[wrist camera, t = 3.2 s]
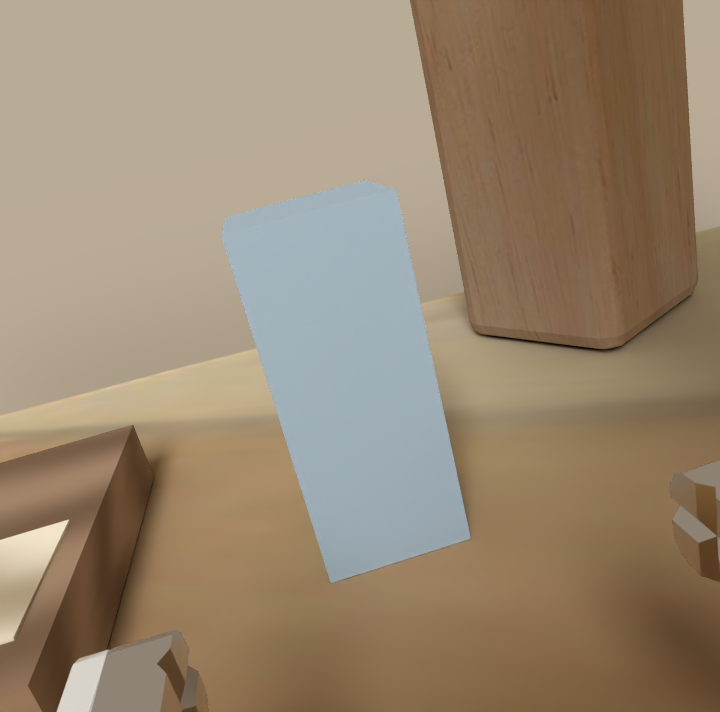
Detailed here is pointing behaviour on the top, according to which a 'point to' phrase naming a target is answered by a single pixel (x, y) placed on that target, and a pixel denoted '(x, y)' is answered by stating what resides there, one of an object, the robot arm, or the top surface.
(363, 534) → the post
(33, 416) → the top surface
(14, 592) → the plinth
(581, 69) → the block
